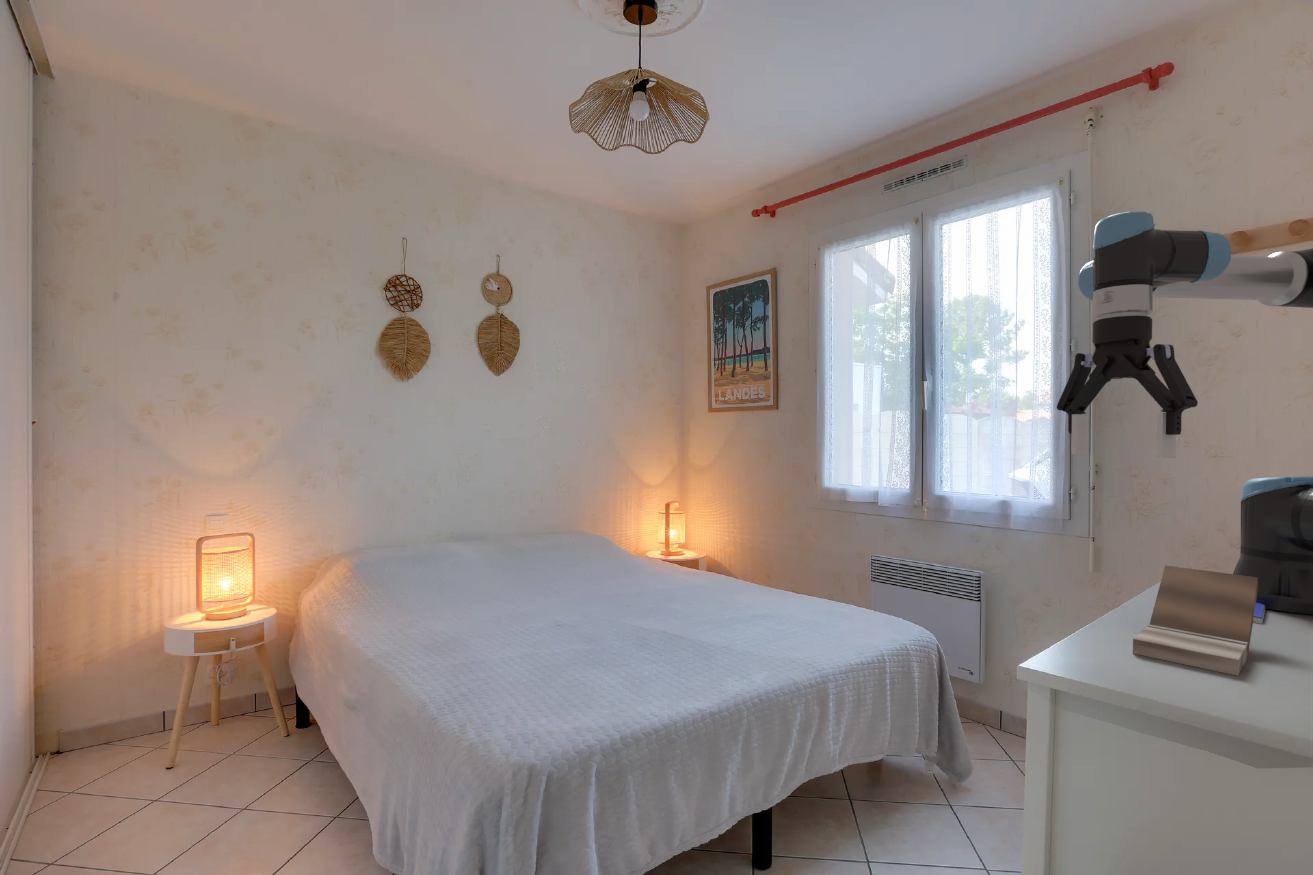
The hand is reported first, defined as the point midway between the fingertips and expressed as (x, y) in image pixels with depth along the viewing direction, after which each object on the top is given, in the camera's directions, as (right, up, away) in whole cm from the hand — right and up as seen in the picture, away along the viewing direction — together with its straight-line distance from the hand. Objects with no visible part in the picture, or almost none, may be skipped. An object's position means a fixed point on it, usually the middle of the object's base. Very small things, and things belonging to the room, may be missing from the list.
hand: (1120, 456), depth 103 cm
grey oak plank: (+2, -27, -11) cm, 29 cm away
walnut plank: (+10, -23, -3) cm, 25 cm away
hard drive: (+28, -28, +13) cm, 42 cm away
